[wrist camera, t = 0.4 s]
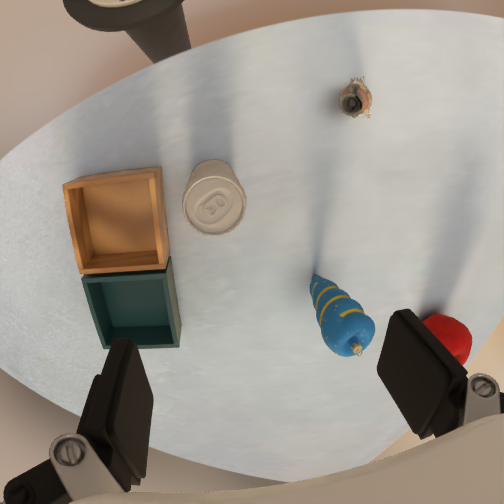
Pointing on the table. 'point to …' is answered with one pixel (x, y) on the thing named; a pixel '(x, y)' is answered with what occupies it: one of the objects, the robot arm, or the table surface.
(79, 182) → the bin
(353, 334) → the ornament
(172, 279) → the can bin
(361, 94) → the vase
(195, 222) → the beverage can
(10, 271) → the table surface
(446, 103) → the table surface
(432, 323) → the apple
